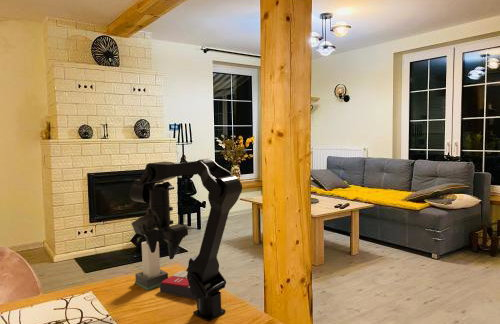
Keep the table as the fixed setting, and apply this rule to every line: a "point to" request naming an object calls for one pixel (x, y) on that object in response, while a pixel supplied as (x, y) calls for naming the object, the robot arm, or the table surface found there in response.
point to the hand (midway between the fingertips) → (162, 255)
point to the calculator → (177, 285)
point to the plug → (150, 260)
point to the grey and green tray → (150, 280)
